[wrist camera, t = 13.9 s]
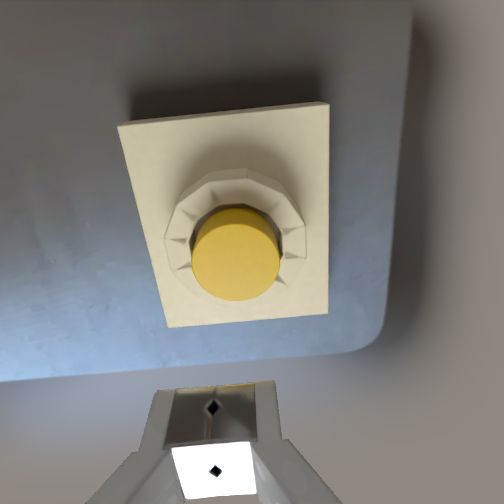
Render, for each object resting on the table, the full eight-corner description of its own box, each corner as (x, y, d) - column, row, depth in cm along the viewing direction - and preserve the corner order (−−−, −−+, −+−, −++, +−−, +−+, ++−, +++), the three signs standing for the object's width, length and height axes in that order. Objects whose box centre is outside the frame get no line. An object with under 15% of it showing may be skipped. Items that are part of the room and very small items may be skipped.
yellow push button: (190, 211, 17) (183, 227, 15) (273, 203, 16) (277, 218, 15) (203, 282, 18) (198, 305, 17) (278, 275, 18) (282, 297, 16)
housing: (128, 120, 18) (100, 131, 14) (321, 100, 18) (340, 106, 14) (173, 309, 23) (161, 351, 20) (321, 295, 23) (336, 335, 20)
